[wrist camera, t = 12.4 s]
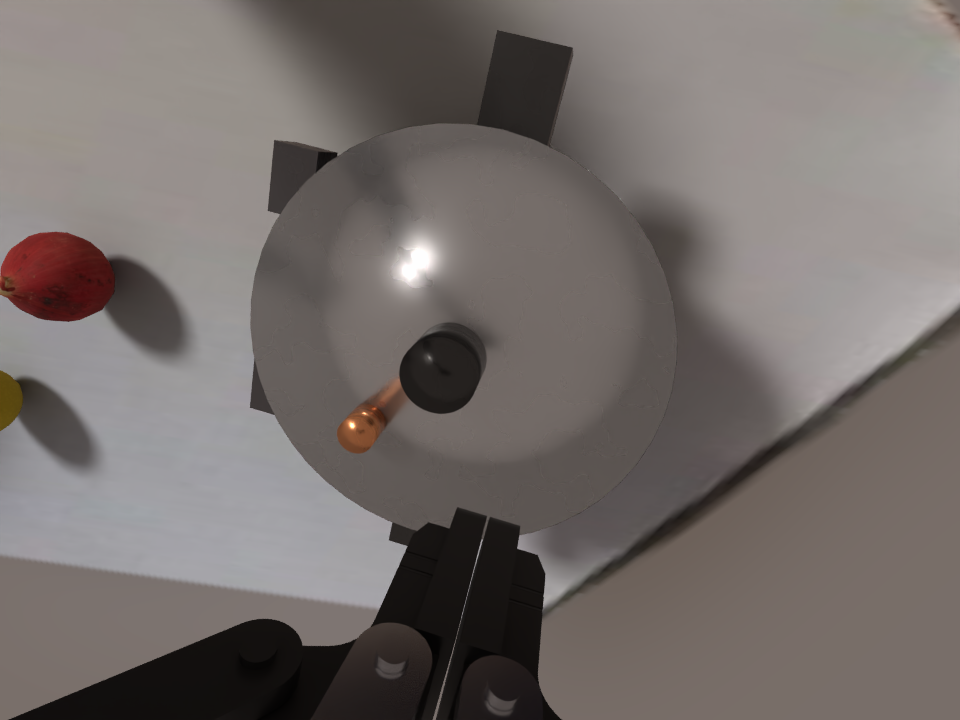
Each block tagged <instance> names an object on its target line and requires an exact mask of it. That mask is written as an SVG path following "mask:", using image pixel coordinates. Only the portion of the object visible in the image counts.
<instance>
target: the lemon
mask: <svg viewBox="0 0 960 720" xmlns="http://www.w3.org/2000/svg"><path fill="white" fill-rule="evenodd" d="M22 404H23V395H22V391H21V386H20V384H19V383H18V382H16V381H15V380H14V379H13V378H12V377H11V376H10V375H8V374H7V373H5V372H3V371H0V431H1V430H3V429H4V428H6V427H7V426H8V425H10V424H11V423H12V422H13V421H14V420H15V418H16V417H17V416H18V414H19V413H20V410H21V408H22Z"/></svg>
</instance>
